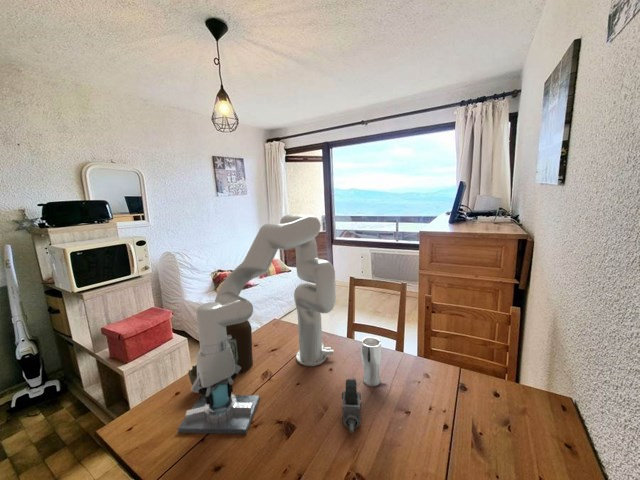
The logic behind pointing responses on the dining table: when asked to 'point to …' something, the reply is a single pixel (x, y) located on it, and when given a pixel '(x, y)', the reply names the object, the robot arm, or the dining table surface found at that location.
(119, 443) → the dining table surface
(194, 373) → the cup
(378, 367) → the beer glass
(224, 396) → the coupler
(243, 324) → the olive oil
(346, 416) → the caster wheel
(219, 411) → the coupling base
